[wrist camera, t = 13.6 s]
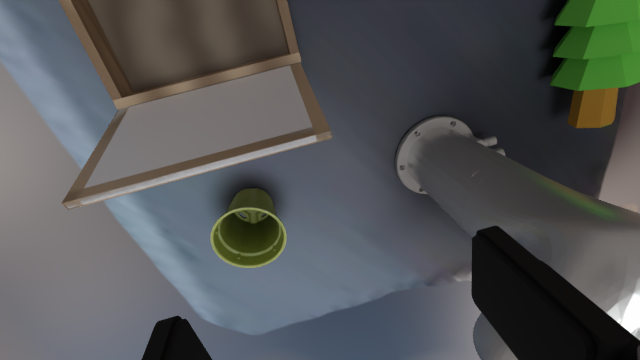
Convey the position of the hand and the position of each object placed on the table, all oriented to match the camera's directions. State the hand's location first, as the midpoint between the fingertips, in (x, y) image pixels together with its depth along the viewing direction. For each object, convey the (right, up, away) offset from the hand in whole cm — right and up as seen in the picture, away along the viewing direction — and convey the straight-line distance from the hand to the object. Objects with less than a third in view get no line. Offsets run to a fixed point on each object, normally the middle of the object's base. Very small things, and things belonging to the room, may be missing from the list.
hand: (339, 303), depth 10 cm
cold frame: (-15, +23, +25) cm, 37 cm away
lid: (-11, +10, +18) cm, 24 cm away
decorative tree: (+34, +27, +31) cm, 54 cm away
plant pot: (-11, 0, +37) cm, 38 cm away
